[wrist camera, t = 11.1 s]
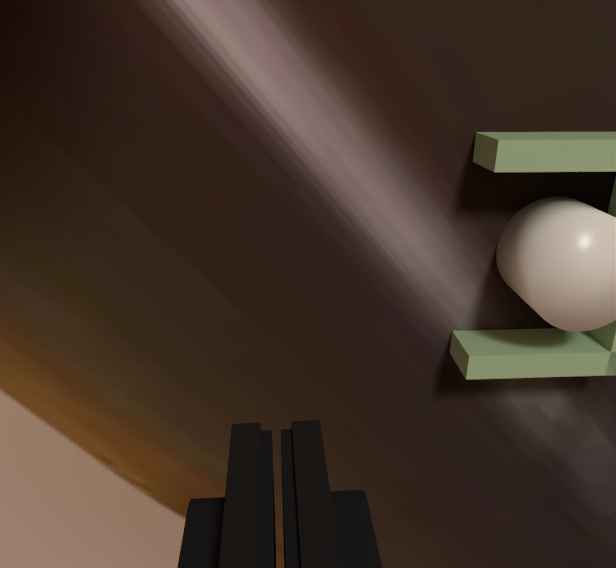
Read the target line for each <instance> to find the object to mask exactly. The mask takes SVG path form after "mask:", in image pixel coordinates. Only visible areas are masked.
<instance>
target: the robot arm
mask: <svg viewBox="0 0 616 568" xmlns="http://www.w3.org/2000/svg"><path fill="white" fill-rule="evenodd" d="M281 455H282V494H283V533H284V564H285V568H382V565H381V560H380V556H379V551H378V547H377V542H376V538H375V533H374V529H373V524H372V520H371V515H370V510H369V506H368V501H367V498H366V494H365V492H364V490H352V491H333V492H330V489H329V482H328V475H327V468H326V461H325V454H324V446H323V439H322V432H321V425H320V421H319V420H312V421H292V429H285V430H281ZM178 568H276V538H275V507H274V478H273V449H272V430H263V431H261V423H245V424H232V429H231V439H230V450H229V461H228V472H227V482H226V493H225V497H221V498H202V499H191V500H190V502H189V506H188V510H187V516H186V522H185V528H184V533H183V540H182V545H181V551H180V557H179V562H178Z"/></svg>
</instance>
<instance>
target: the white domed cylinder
mask: <svg viewBox="0 0 616 568" xmlns="http://www.w3.org/2000/svg"><path fill="white" fill-rule="evenodd" d="M496 262H497V267H498V271H499V273H500V275H501V277H502V279H503V280H504V281H505V283H506V284H507V285H508V286H509V287H510V288H511V289H512V290H513V291H514V292H516V293H517V294H518V295H519V296H520V297H521V298H522V299H523V300H524V301H525V302H526V303H527V304H528V305H529V306H530V307H531V308H532V309H533V310H535V311H536V312H537V313H538V314H539V315H540V316H541V317H542V318H543V319H544V320H545V321H547V322H548V323H549V324H551V325H553V326H554V327H557V328H559V329H562V330H566V331H574V332H578V331H589V330H593V329H597V328H600V327H603V326H605V325H607V324H609V323H612V322H613V321H615V320H616V217H613V216H611V215H609V214H607V213H605V212H602V211H600V210H598V209H596V208H593V207H591V206H589V205H587V204H585V203H582V202H580V201H578V200H576V199H573V198H569V197H563V196H553V197H547V198H543V199H540V200H537V201H534V202H532V203H530V204H529V205H527V206H525V207H524V208H522V209H521V210H520V211H519V212H517V213H516V214H515V215H514V216H513V217H512V218H511V219H510V221H509V222H508V223H507V225H506V226H505V228H504V229H503V231H502V233H501V236H500V238H499V241H498V244H497V250H496Z"/></svg>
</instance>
